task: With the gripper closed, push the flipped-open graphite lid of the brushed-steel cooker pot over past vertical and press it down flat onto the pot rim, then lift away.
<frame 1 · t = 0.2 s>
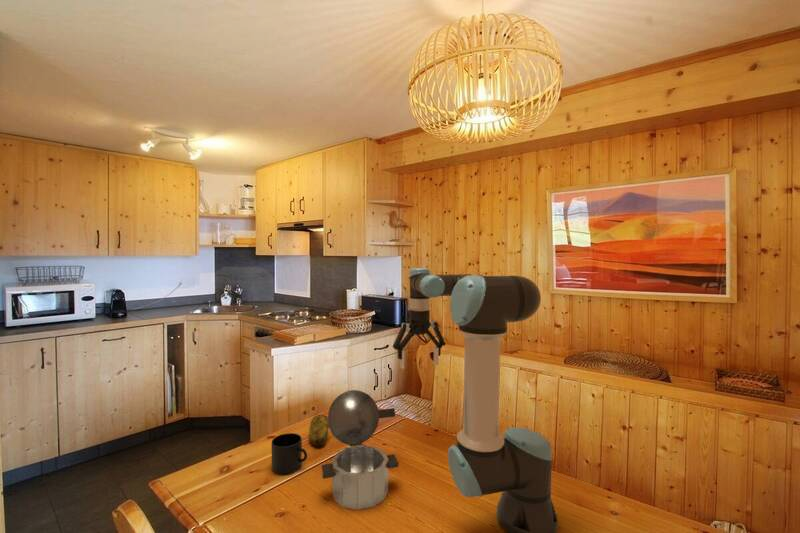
hand: (419, 366, 141), 28 cm above the table, fingers open, 13 cm apart
potato: (318, 440, 141), on the table
pot: (360, 490, 111), on the table
lid: (362, 416, 124), point 16 cm above the table, hinge at 120.0°
mug: (290, 468, 123), on the table
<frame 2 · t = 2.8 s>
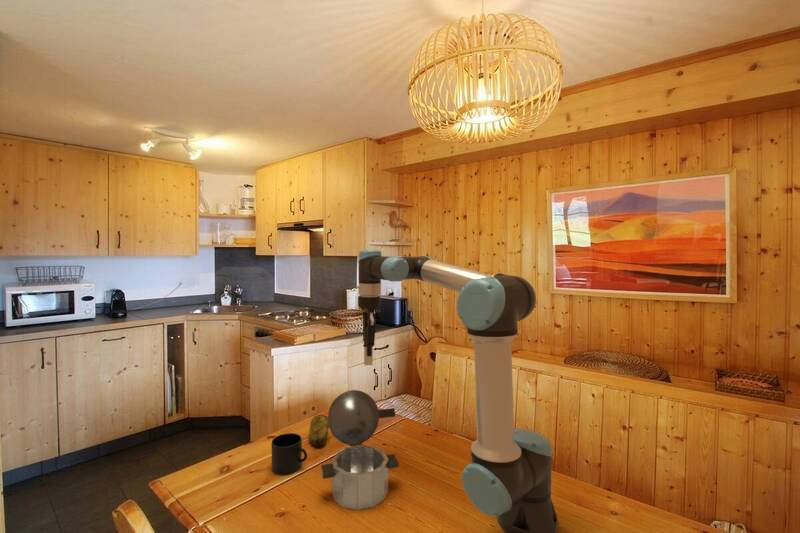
hand: (368, 364, 128), 32 cm above the table, fingers closed
nothing on the table moved.
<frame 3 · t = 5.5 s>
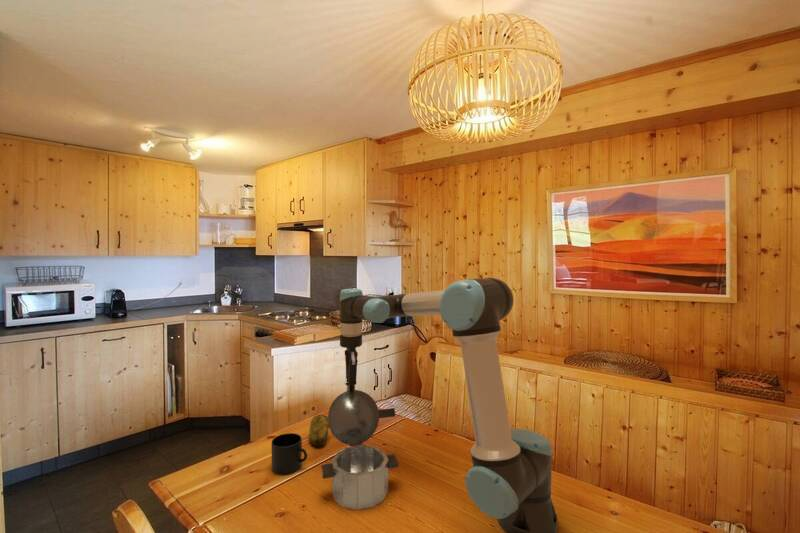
hand: (350, 402, 129), 19 cm above the table, fingers closed
lid: (362, 416, 124), point 16 cm above the table, hinge at 118.9°, touching gripper
everything else where it was.
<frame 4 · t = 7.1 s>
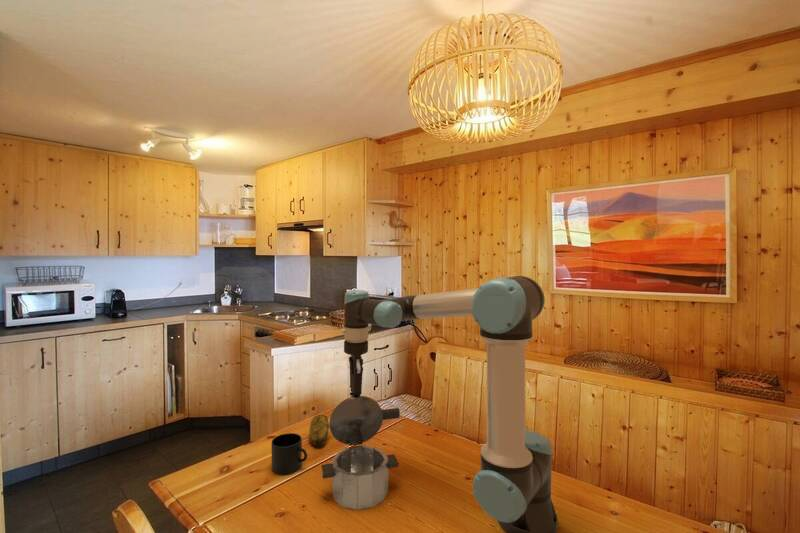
hand: (355, 413, 119), 19 cm above the table, fingers closed
lid: (365, 418, 119), point 18 cm above the table, hinge at 77.5°, touching gripper
everything else where it was.
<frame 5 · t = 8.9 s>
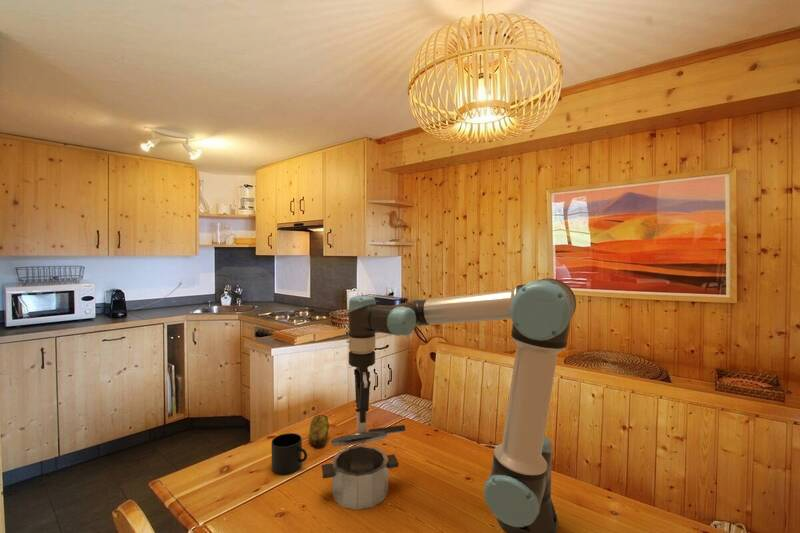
hand: (361, 431, 108), 19 cm above the table, fingers closed
lid: (368, 434, 113), point 16 cm above the table, hinge at 33.8°, touching gripper
everything else where it was.
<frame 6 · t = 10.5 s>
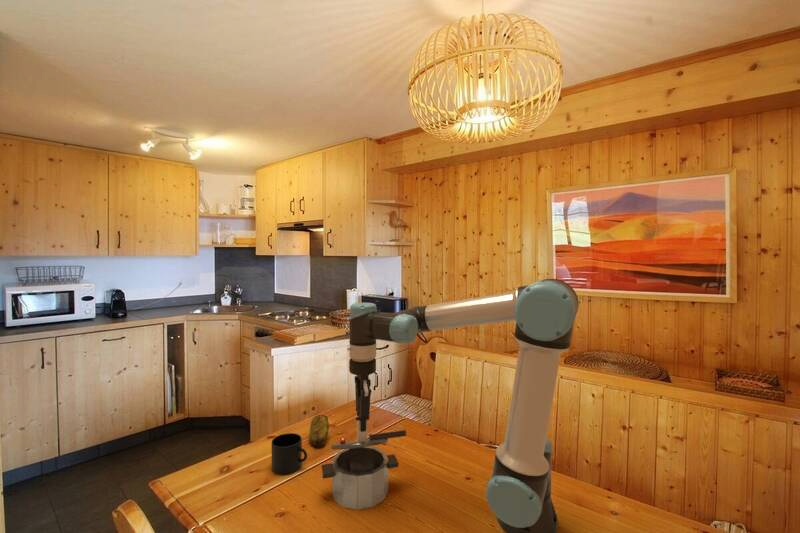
hand: (362, 440, 107), 17 cm above the table, fingers closed
lid: (369, 439, 113), point 15 cm above the table, hinge at 24.6°
everything else where it was.
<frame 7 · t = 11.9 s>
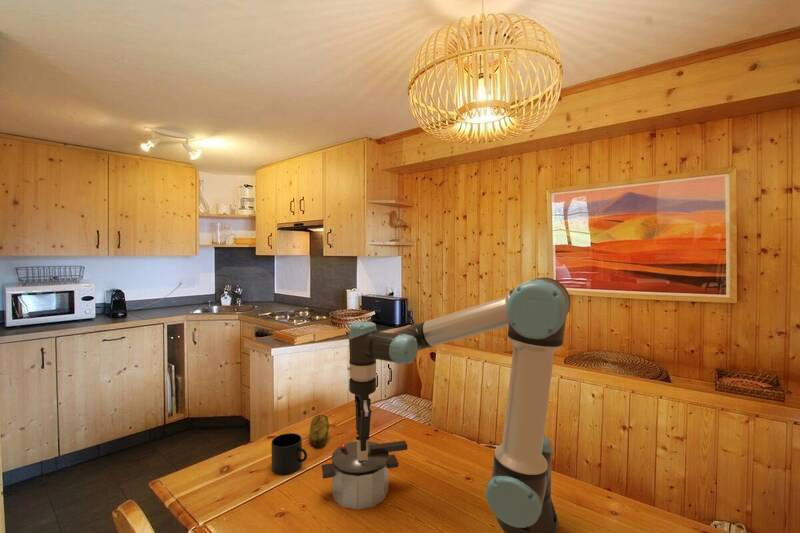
hand: (362, 459, 107), 12 cm above the table, fingers closed
lid: (369, 451, 111), point 12 cm above the table, hinge at 2.2°, touching gripper
everything else where it was.
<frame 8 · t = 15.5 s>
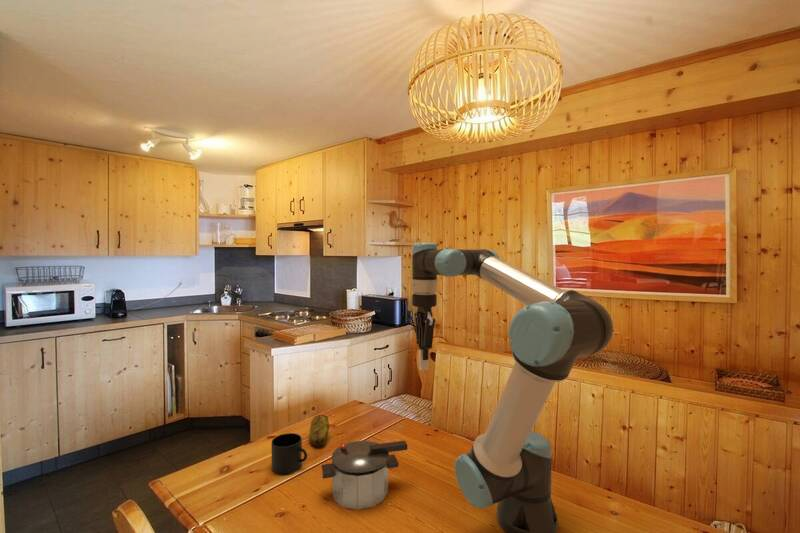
hand: (423, 369, 116), 34 cm above the table, fingers closed
lid: (369, 451, 111), point 12 cm above the table, hinge at 2.2°
everything else where it was.
at the end: lid at +2° (first picture: +120°) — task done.
